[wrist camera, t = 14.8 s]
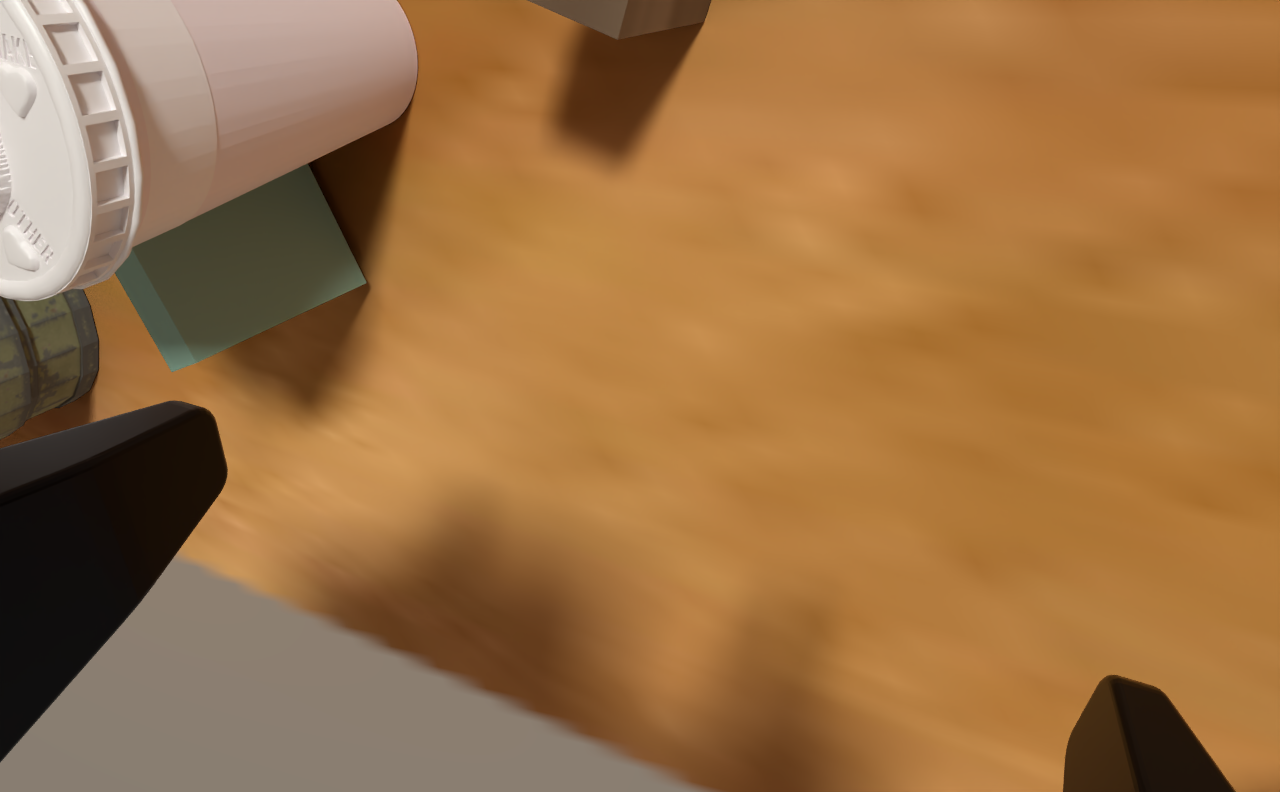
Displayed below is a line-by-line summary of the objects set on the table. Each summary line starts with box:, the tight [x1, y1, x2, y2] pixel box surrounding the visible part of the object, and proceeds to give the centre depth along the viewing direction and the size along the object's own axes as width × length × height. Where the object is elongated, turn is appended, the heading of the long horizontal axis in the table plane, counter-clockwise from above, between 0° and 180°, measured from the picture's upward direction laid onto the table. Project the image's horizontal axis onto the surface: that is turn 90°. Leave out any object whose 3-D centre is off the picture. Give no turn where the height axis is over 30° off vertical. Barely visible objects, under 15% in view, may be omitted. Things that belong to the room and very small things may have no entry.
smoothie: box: [0, 0, 418, 301], centre depth 16 cm, size 6×6×14 cm
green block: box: [115, 163, 366, 372], centre depth 21 cm, size 13×2×6 cm, turn 24°
